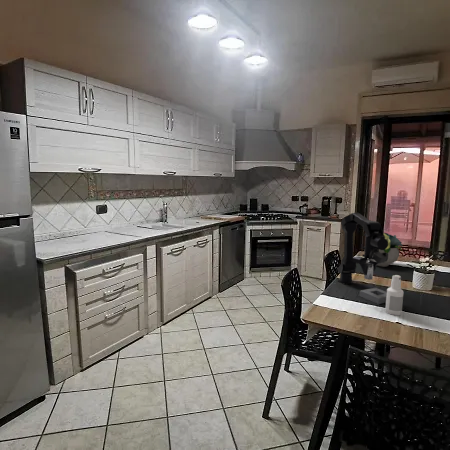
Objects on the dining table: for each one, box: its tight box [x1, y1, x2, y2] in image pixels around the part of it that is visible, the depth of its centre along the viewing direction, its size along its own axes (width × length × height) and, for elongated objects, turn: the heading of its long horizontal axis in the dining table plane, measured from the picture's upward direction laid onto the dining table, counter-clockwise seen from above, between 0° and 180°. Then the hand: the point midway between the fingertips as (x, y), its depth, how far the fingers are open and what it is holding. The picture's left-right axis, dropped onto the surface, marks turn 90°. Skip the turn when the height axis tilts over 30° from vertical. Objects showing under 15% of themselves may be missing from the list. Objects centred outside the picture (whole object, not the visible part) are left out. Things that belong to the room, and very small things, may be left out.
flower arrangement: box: [377, 232, 403, 268], centre depth 228 cm, size 25×25×24 cm
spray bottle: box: [384, 274, 404, 316], centre depth 146 cm, size 7×7×18 cm
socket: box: [358, 287, 387, 305], centre depth 165 cm, size 12×12×3 cm
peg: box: [363, 262, 374, 280], centre depth 164 cm, size 4×4×8 cm
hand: (368, 274), depth 164 cm, fingers closed on peg, 4 cm apart
